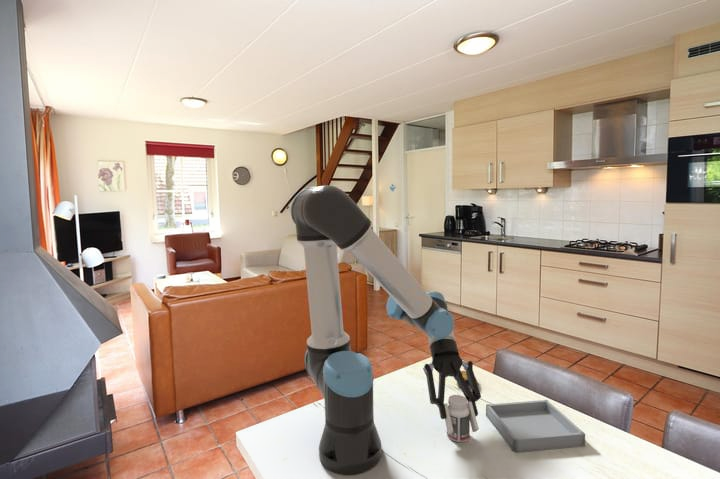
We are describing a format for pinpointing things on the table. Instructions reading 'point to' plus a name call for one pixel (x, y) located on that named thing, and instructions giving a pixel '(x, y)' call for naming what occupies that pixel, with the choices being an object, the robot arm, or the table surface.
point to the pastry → (465, 379)
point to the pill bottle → (459, 418)
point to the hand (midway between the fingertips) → (463, 431)
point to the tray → (534, 426)
